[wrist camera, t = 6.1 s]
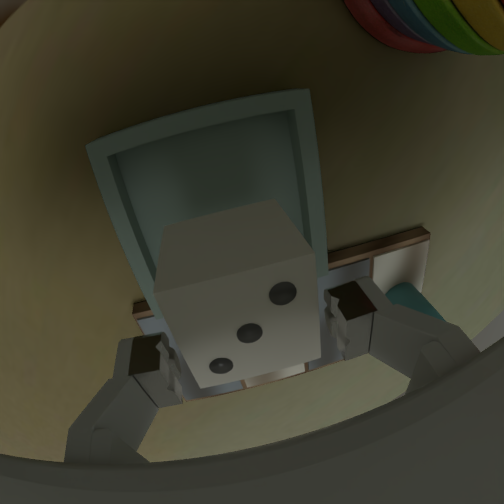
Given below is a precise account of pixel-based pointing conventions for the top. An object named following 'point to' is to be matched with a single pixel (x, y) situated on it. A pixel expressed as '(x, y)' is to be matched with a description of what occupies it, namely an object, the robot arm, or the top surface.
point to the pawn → (411, 299)
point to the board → (340, 271)
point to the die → (239, 293)
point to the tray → (211, 172)
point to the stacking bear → (434, 24)
